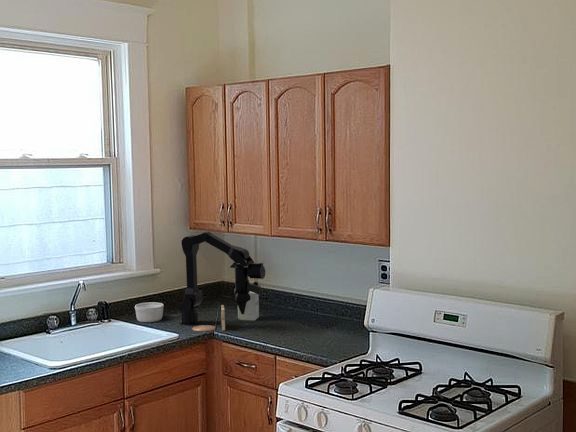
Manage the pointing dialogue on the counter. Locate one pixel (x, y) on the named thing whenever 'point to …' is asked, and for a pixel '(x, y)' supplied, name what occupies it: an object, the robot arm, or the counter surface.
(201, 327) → the disc
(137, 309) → the ramekin
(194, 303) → the robot arm
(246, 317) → the sage block
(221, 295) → the counter surface
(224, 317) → the divider board
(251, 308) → the supplement box
